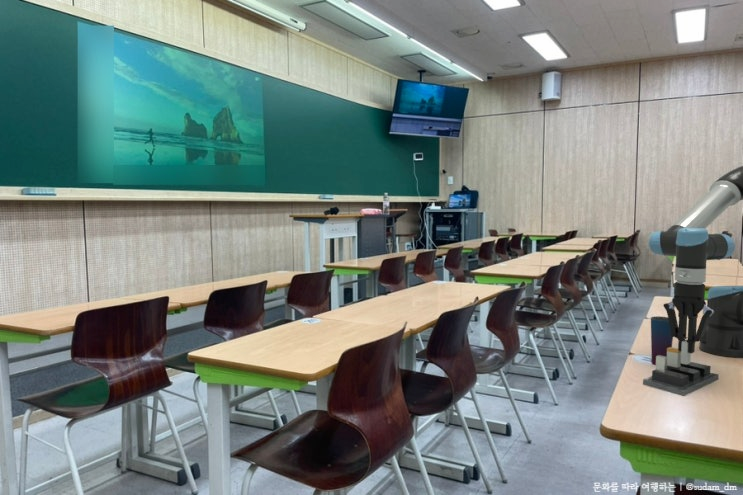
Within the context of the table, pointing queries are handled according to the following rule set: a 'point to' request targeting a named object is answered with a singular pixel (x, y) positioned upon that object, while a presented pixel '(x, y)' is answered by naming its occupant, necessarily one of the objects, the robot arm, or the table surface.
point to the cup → (660, 337)
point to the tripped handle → (673, 357)
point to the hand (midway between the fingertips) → (685, 363)
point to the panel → (678, 389)
